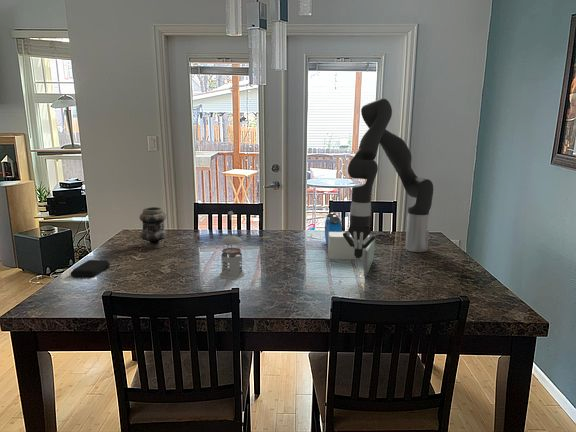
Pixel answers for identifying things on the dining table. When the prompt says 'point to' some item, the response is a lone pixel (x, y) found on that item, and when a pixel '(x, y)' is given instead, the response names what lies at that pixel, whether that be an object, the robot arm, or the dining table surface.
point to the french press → (231, 258)
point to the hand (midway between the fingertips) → (358, 257)
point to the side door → (368, 257)
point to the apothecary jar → (153, 227)
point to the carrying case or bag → (90, 268)
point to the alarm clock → (332, 225)
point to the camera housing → (342, 247)
